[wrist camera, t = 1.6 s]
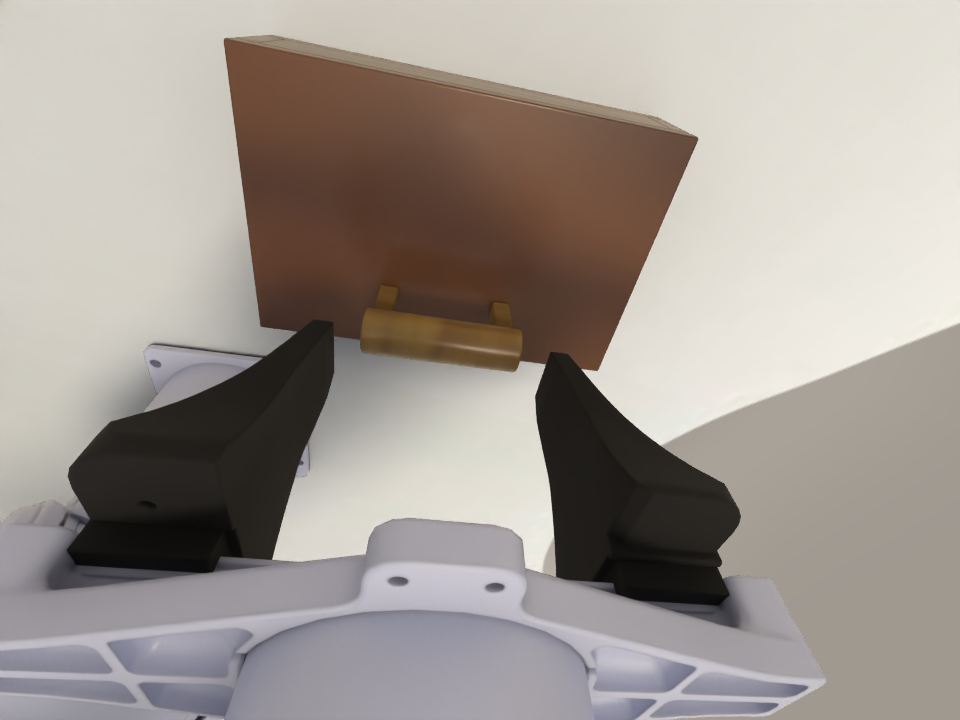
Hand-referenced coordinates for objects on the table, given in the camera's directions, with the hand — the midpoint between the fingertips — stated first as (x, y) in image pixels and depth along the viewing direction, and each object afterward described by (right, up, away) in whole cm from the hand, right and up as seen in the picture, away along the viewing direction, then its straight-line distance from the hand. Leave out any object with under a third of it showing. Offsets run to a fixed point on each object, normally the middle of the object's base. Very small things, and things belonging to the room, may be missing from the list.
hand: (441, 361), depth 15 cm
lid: (0, +5, +2) cm, 5 cm away
